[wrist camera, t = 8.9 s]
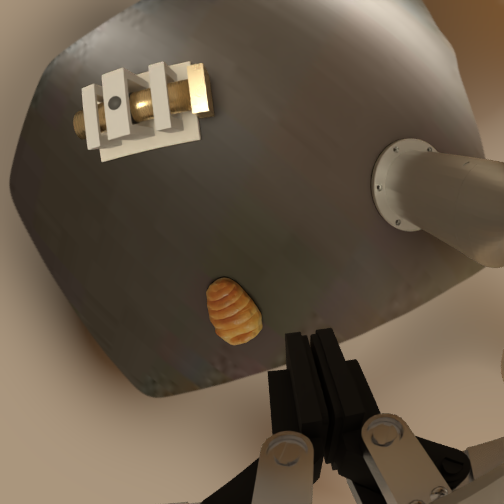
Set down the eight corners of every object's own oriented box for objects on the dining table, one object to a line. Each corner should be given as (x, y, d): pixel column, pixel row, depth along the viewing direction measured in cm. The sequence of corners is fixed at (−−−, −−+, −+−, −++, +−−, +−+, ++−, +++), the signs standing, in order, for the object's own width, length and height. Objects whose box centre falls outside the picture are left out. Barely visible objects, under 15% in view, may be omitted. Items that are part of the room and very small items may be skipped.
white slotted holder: (191, 63, 29) (174, 39, 21) (201, 139, 32) (185, 137, 24) (96, 90, 29) (59, 80, 21) (105, 161, 33) (67, 168, 24)
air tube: (209, 74, 28) (202, 62, 24) (214, 116, 30) (208, 110, 25) (89, 107, 29) (68, 103, 24) (93, 145, 31) (73, 146, 26)
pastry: (195, 285, 39) (190, 299, 36) (240, 267, 38) (240, 280, 35) (224, 337, 42) (223, 353, 39) (267, 322, 41) (268, 338, 38)
